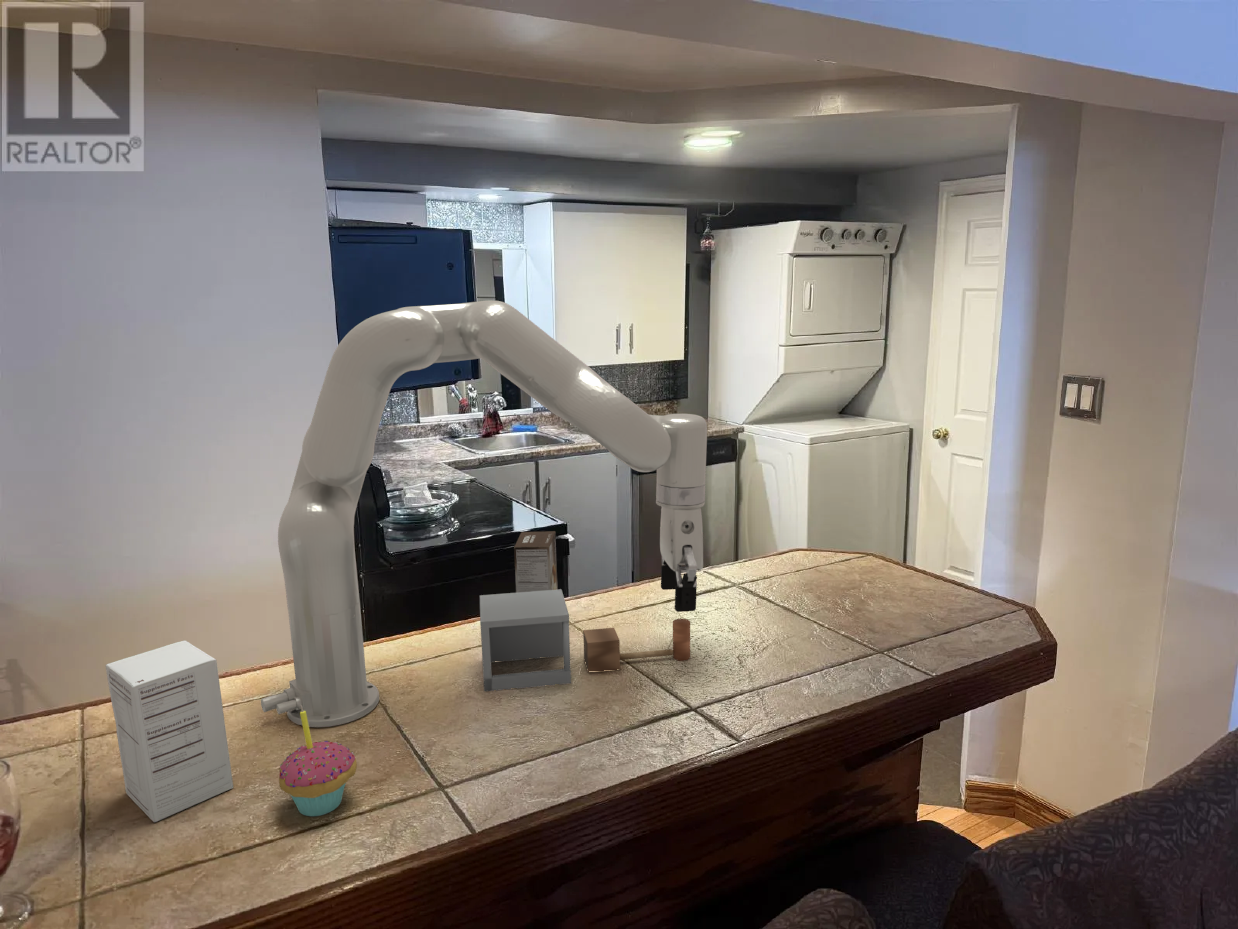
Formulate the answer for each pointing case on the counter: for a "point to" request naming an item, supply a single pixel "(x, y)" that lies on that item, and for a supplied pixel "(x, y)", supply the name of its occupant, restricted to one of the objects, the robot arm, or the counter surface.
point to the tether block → (606, 653)
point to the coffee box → (535, 562)
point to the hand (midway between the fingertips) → (677, 599)
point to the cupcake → (316, 773)
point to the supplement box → (170, 728)
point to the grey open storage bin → (524, 636)
